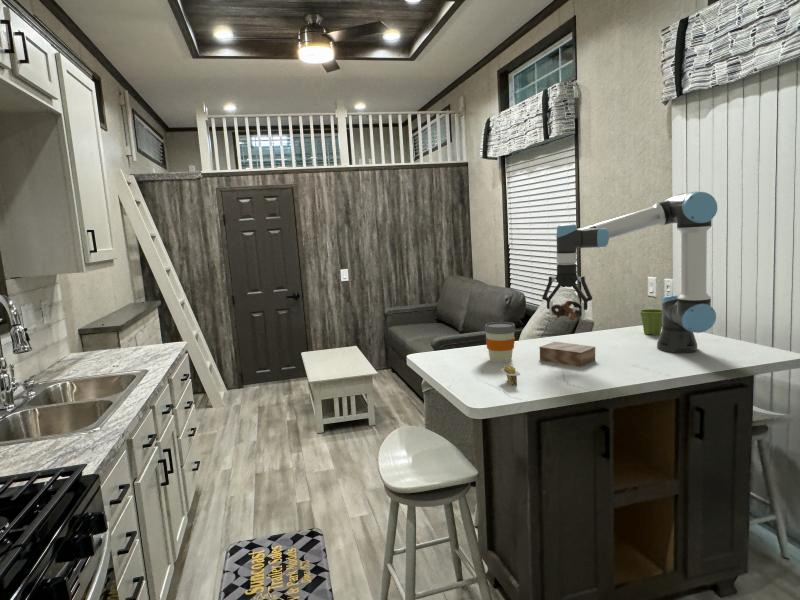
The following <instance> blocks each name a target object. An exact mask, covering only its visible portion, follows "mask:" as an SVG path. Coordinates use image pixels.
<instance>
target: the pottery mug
mask: <svg viewBox="0 0 800 600" xmlns="http://www.w3.org/2000/svg"><path fill="white" fill-rule="evenodd" d="M571 306H573V307H574V308H578V309H575V310H574V309H573V308H571ZM556 309H557V311H556ZM573 311H574V312H573ZM552 312H553V315H555V316H556V317H557V319H559V318H561V317H565V318H566V317H569V316H570V317H569V320H570V321H575V319H577V318H580V317H582V304H580V303H579V302H576V301H573V300H566V301H565V302H564V303H562V304H553V307H552Z"/></svg>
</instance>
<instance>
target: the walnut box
mask: <svg viewBox="0 0 800 600" xmlns="http://www.w3.org/2000/svg"><path fill="white" fill-rule="evenodd" d="M539 361H540V362H542V361H543V362H547V363H548V362H549V363H554V364H559V363H560V364H561V365H566V366H573V367H578V368H582V366H583V367H585V366H586V364H587V365H589V364H590V363H593V362H595V361H596V346H591V345H585V344H578V343H577V344H576V343H568V342H562V341H551V342H549V343H547V344H544V345H541V346H540V347H539ZM560 364H559V365H560ZM584 365H585V366H584Z"/></svg>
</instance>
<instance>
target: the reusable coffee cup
mask: <svg viewBox="0 0 800 600" xmlns="http://www.w3.org/2000/svg"><path fill="white" fill-rule="evenodd" d="M515 332H516V325H515V323H513V322H509V321H495V322H493V321H492V322H488V323H485V325H484V333H485V343H486V349H487V350H488V356H489V360H491V362H493V361H496V362H495V363H507V362H506V361H509V362H511V361H512V357H513V349H514V348H515V341H516V337H515ZM510 360H511V361H510Z"/></svg>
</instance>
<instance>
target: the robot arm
mask: <svg viewBox="0 0 800 600" xmlns="http://www.w3.org/2000/svg"><path fill="white" fill-rule="evenodd" d="M717 212H718V202H717V200H716V199H715V197H714V196H713V195H711V194H710V193H708V192H705V191H691V192H686V193H679V194H677V195H674V196H672V197H669V198H667V199H664V200H662V201H658V202H656V203H654V205H653V206H650V207H648V208H645V209H640V210H638V211H634V212H632V213H631V212H630V213H628V214H625V215H622V216H618V217H615V218H612V219H608V220H604V221H601V222H598V223H595V224H593V225H588V226H585V227H579V228H578V227H577V224H573V223H572V224H560V225H559V224H558V226H557V227H556V235H555V238H556V263H557V265H556V276H553V275H550V276H548V283H547V285H546V288H545V290H544V292H543V295H542V296H541V298H542V300H544V301H546V308H547V310H549V318H550V319H551V318H553V317H554V313H553V312H552V307H553V306H554V303H553V302H554V301H553V300H552V299H553V297H554V296H555V295H556V294H557V292H558V291H559V290H560V288H561V287H562V288H573V289H574V291H575V292H576V293H577V294H578V296H579V297H580V298H581V300H582V301H581V306H582V315H581V319H583V320H584V319H585V317H586V316H585V311H587V310H588V302H590V301H592V300H593V296H592V294H591V292H590V289H589V287H588V284H587V282H586V276H584V275H583V276H578V273H577V271H578V269H577V268H578V267H577V264H576V263H578V262H577V260H578V259H577V257H578V256H577V254H578V251H577V249H586V248H587V249H588V248H589V249H590V248H591V249H593V248H598V249H600V248H605V247H607V246H608V245H609V242H610V239H614V238H616V237H620V236H623V235H627V234H630V233H634V232H636V231H637V232H638V231H641V230H644V229H648V228H651V227H654V226H657V225H659V226H662V227H663V226H666V225H670V224H676V229H677V230H678V231H680V233H681V237H680V238H681V240H680V241H681V242H680V243H681V244H680V245H681V246H680V247H681V255H680V256H681V257H680V258H681V262H680V263H681V264H680V265H681V266H680V267H681V270H680V272H681V277H680V278H681V279H680V280H681V284H680V285H681V291H680V294H679V295H678V294H677V295H675V294H674V295H665V296H663V298H662V303H661V305H662V306H661V310H662V329H661V333H660V334H659V337H658V340H657V342H656V348H657V350H660V351H664V352H667V353H668V352H669V353H677V354H679V353H682V354H684V353H685V354H686V353H694V352H697V351H698V343H697V339H696V336H695V334H694V333H697V334H698V333H703V332H708V330H710V329H711V328H713V326H714V325H715V323H716V320H717V313H716V310H715V309H714V308H713V307H712V298H711V296H710V295H709V294H708V293H707V264H708V263H707V254H708V250H707V248H708V244H707V243H708V242H707V241H708V238H707V237H708V236H707V235H708V234H707V233H708V231H709V229H711V228H712V227H713V226H712V222H713V221H712V220H713V218H714V217H715V216H716V214H717ZM578 280H579V282H580V283H581V286H582V287H583V290H584V293H585V294H584V293H583V291H582V290H581V289H580V287H579V285H577V283H576V282H577V281H578ZM555 281H556V282H557V284H556V286H555V287H554V289H553V290H552V292H551V293H550V294H549V292H550V290H551V287H552V284H553V282H555Z"/></svg>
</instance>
